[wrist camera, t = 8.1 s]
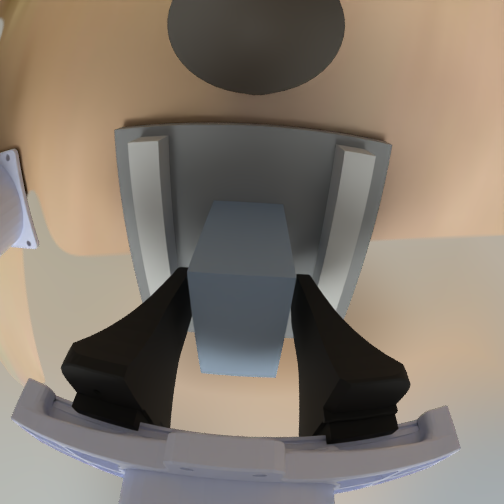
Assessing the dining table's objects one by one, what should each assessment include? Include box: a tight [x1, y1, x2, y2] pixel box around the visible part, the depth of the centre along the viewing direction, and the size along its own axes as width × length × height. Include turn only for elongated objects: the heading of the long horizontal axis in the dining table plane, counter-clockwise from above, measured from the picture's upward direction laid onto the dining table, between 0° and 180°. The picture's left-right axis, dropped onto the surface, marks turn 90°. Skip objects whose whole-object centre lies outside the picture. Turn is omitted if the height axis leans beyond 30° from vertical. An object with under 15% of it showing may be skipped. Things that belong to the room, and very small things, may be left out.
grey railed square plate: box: [114, 122, 392, 338], centre depth 15 cm, size 14×14×2 cm
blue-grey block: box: [187, 201, 296, 378], centre depth 13 cm, size 4×6×6 cm, turn 177°
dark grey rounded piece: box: [168, 0, 345, 95], centre depth 8 cm, size 5×5×6 cm
